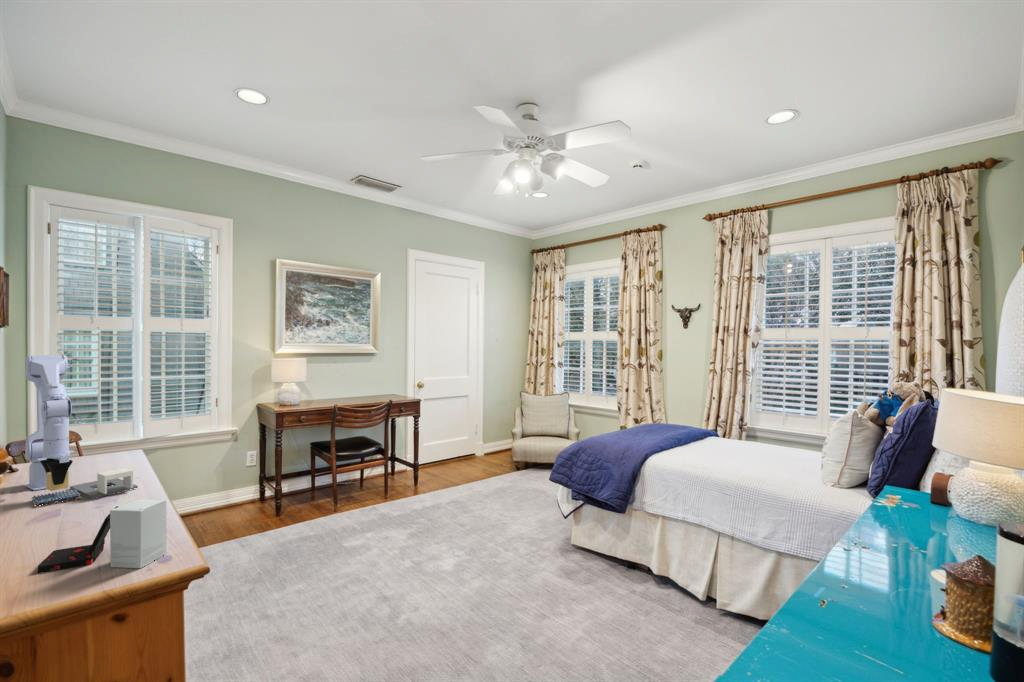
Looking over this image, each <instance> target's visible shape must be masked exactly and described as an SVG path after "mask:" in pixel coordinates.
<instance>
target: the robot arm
mask: <svg viewBox="0 0 1024 682" xmlns="http://www.w3.org/2000/svg"><path fill="white" fill-rule="evenodd" d="M68 362H69V360H68V357H67V355H65V354H57V355H56V354H48V355H45V354H44V355H31V354H28V355H27V356H25V377H26V381H27V382H32V383H33V384H34V386H35V389H36V391H35V392H36V422H37V423H36V425H37V426H36V427H37V428H36V429H37V430H36V431H35V432H33V433H31V434H30V435H28V436H27V437H26V438H25V447H24V449H25V450H24V455H25V460H27V461H28V462H29V461H30V465H29V468H28V470H29V471H28V474H29V475H28V479H29V481H28V482H29V483H26V484H25V487H26V488H28V489H30V490H32V491H38V490H39V491H40V490H44V489H46V481H47V473H48V472H51V475H52V480H53V484H54V485H58V484H63V483H64V481H65V477H66V474H67V471H68V472H69V469H70V467H71V466H72V464H73V460H72V459H70V455H71V454H74V453H75V450H71V449H70V418H71V416H72V411H73V405H72V402H71V401H72V400H71V399H70V397H68V395H67V390H66V386H65V385H63V384H62V383H60V381H62V380H64V378H65V376H66V373H67V371H68V366H69V365H68V364H69V363H68Z"/></svg>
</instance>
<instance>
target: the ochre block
mask: <svg viewBox="0 0 1024 682" xmlns="http://www.w3.org/2000/svg"><path fill="white" fill-rule="evenodd" d="M68 488H69V470H68V471H67V474H66V477H65V481H64V483H63V484H58V485H54V484H53V480H52V475H51V472H48V473H47V481H46V488H45V489H46V490H48V491H50V492H53V491H54V492H55V491H59V490H63V489H68Z"/></svg>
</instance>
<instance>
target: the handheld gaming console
mask: <svg viewBox="0 0 1024 682" xmlns="http://www.w3.org/2000/svg"><path fill="white" fill-rule="evenodd" d="M117 507H119V506H115V507H114V508H113V509H115V508H117ZM109 532H110V513H109V514H108V515H107V516H106V517H105V519H104V520H103V522H102V524H101V526H100V528H99V530H98V532H97V533H96V536H95V538H94V540H93V542H92V544H88V545H81V546H75V547H67V548H60V549H55V550H53V551H52V552H51V553H50V554H49V555H48V556H47V557H46V558H45V559H43V561H42V562H41V563H39V565H37V573H38V574H42V573H41V572H44V573H49V572H56V571H61V570H62V571H63V570H67V569H73V568H80V567H85V566H88V565H92V564H93V563H95V561H96V560H97V559H98V558H99V556H100V555H101V554H102V553H103V551H104V549H105V543H106V542H105V540H106V537H107V536H108V533H109Z"/></svg>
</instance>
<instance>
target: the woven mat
mask: <svg viewBox="0 0 1024 682" xmlns="http://www.w3.org/2000/svg"><path fill="white" fill-rule="evenodd" d="M79 499H80V500H81V499H82V497H81V494H79V493H78V491H77V490H74V489H73V490H71V489H70V488H69V489H68V490H67V489H66V490H61V491H54V492H52V493H50V492H48V493H45V494H43V493H41V494H37V496H36V495H33V496H32V497H31V500H32V501H33V502H32V501H31V503H32V504H33V505H32V506H33V508H34V507H37V508H43V507H47V506H46V504H47V505H48V506H53V505H58V504H57V503H59V504H63V503H62V501H63V502H64V503H68V500H70V501H69V502H73V500H75V501H79ZM42 504H43V505H42ZM52 504H53V505H52ZM34 505H36V506H34ZM39 505H41V507H39ZM42 506H43V507H42Z"/></svg>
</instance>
